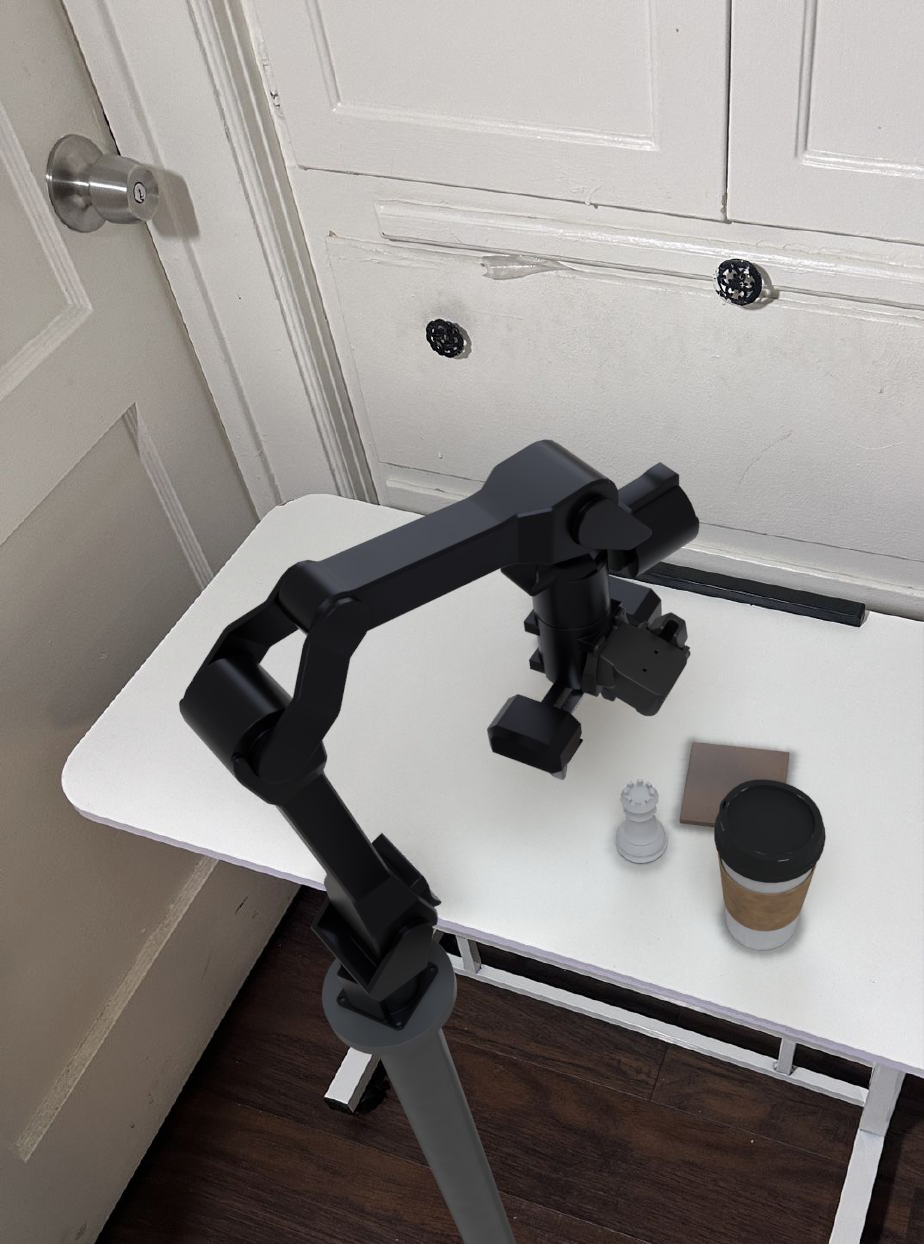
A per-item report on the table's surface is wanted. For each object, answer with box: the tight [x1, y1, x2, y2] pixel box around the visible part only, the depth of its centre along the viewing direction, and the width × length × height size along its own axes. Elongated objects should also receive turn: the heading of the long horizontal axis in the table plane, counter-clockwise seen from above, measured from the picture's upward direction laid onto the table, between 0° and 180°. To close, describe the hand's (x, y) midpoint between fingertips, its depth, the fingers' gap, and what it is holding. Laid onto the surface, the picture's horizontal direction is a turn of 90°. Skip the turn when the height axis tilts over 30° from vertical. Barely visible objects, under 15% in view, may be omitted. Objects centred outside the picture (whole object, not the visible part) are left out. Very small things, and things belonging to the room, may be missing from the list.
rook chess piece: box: [616, 778, 668, 864], centre depth 105 cm, size 4×4×8 cm
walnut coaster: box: [679, 741, 790, 828], centre depth 112 cm, size 9×9×1 cm
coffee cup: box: [713, 779, 827, 951], centre depth 97 cm, size 8×8×15 cm
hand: (584, 737), depth 102 cm, fingers open, 9 cm apart
